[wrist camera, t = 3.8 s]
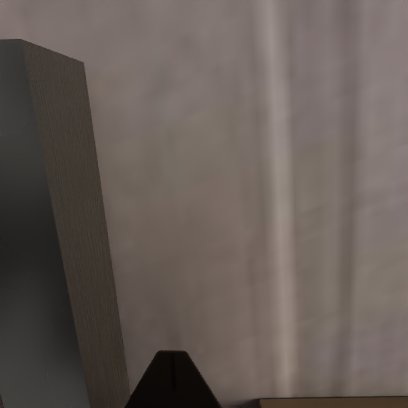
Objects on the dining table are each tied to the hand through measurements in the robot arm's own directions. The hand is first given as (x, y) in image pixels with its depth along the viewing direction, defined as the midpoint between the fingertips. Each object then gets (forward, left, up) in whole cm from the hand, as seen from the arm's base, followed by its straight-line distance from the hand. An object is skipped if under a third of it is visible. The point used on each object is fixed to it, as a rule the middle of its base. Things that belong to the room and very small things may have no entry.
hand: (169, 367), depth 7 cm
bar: (-7, +1, -1) cm, 7 cm away
